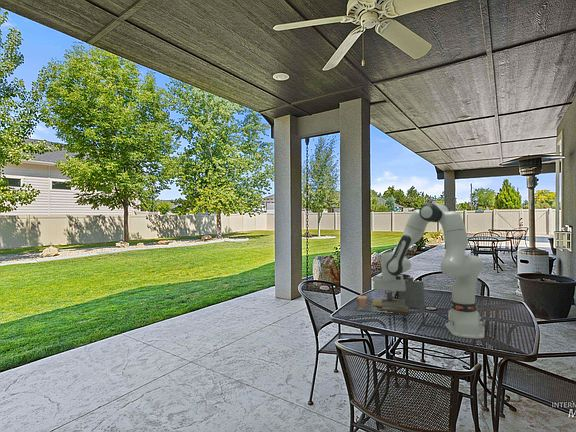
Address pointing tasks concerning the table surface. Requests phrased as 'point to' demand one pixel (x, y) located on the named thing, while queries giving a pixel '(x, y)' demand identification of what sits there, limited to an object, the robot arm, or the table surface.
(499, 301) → the table surface
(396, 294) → the plant pot
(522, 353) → the table surface
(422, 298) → the hip flask
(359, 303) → the socket block
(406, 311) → the sleeve stand
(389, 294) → the slip tube
